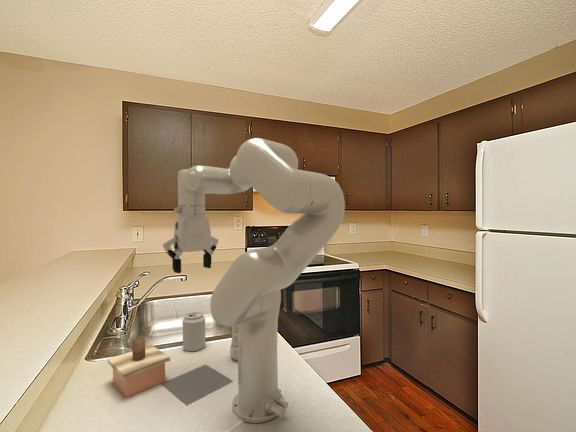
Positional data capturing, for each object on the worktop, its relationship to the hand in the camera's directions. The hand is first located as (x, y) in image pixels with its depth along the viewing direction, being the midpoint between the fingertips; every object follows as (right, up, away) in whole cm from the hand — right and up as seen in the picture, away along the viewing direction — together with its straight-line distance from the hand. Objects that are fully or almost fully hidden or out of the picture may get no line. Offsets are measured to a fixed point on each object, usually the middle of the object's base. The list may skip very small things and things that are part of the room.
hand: (192, 269), depth 89 cm
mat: (+3, -30, -6) cm, 31 cm away
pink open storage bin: (-13, -31, -5) cm, 34 cm away
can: (-4, -30, +16) cm, 34 cm away
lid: (-13, -25, -5) cm, 28 cm away
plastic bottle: (+13, -30, +8) cm, 34 cm away
